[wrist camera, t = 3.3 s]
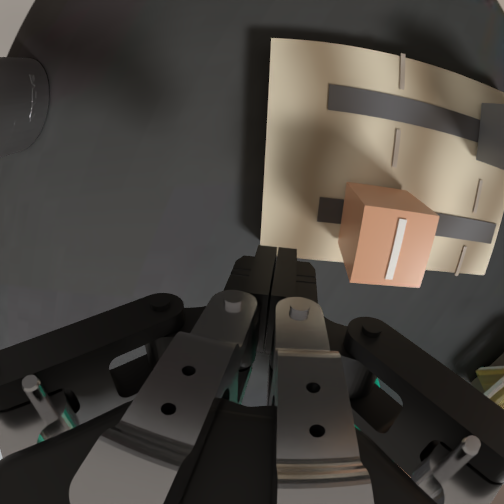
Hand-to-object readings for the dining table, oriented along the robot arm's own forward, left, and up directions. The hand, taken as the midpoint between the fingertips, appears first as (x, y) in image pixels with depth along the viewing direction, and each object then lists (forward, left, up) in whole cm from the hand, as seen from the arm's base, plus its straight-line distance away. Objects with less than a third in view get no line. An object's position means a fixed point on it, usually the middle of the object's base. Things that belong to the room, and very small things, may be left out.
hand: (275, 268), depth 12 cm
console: (+8, +4, -10) cm, 13 cm away
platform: (+26, -15, -10) cm, 32 cm away
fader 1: (+6, 0, -7) cm, 9 cm away
